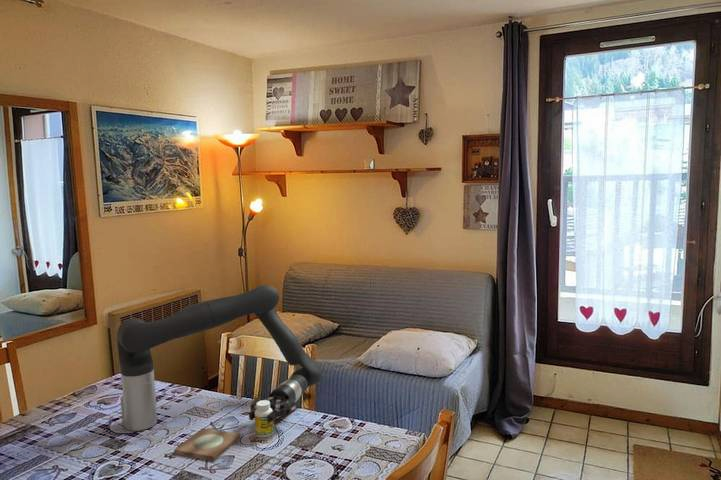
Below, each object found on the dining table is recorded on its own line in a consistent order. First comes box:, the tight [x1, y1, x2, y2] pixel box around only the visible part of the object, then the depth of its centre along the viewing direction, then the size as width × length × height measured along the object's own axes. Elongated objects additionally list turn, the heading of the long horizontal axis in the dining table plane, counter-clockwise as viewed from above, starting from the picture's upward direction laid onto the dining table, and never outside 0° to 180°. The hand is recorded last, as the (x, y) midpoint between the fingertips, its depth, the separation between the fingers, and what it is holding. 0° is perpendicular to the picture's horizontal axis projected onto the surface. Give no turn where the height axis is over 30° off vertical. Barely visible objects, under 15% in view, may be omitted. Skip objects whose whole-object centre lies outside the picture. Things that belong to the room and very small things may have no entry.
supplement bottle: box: [254, 399, 275, 438], centre depth 156 cm, size 5×5×10 cm
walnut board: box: [173, 427, 241, 462], centre depth 150 cm, size 13×13×1 cm
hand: (259, 418), depth 154 cm, fingers closed on supplement bottle, 5 cm apart
